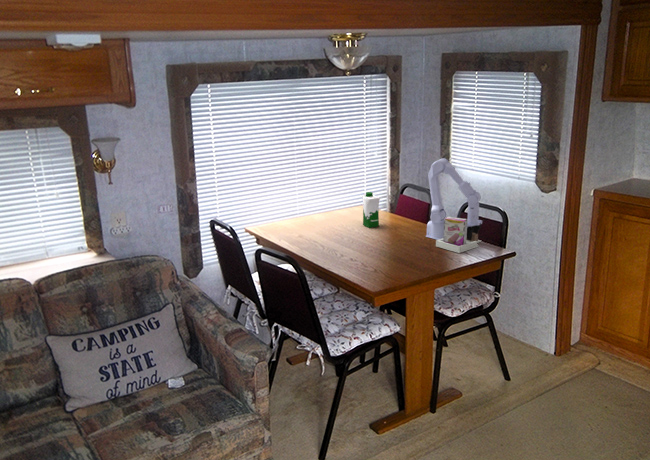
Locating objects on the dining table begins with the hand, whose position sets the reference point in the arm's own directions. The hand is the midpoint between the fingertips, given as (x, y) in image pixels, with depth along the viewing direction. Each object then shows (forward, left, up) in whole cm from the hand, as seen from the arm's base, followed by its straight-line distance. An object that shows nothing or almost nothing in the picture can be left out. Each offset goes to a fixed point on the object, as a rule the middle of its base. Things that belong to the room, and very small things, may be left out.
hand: (471, 238), depth 327 cm
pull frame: (0, -8, -2) cm, 9 cm away
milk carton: (-60, -18, -2) cm, 63 cm away
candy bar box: (+1, -16, -2) cm, 16 cm away
